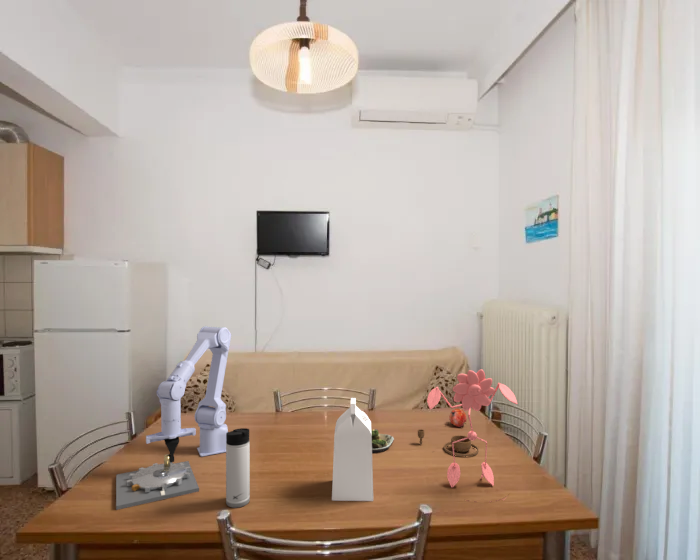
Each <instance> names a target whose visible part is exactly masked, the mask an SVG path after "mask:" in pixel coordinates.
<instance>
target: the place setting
mask: <svg viewBox="0 0 700 560" xmlns="http://www.w3.org/2000/svg"><path fill="white" fill-rule="evenodd" d="M417 437H418V438H419V446H423V439H424V438H425V430H424V429H422V428H421V429H417ZM467 437H468V436H465V435H459V434H458V435H453V436H451V438H450V441H448V442H445V444H443V449H444V451H445V452H446V453H447V454H448V455H451V454H452V455H451V456H453V451H451V450H449V449H448V447H447V446H449V445H452V443H453V442H455V441H458V440H461V439H464V438H467ZM471 443H472V440H470V439H469V438H468V439H465V440H462V441H459V442H456V443H453V444H454V451H455V452H454V455H456V456H455V457H458V456H465V457H464V458H467V457H466V456H472V457H474V456H473V455H475V456H476V454H477V455H478V453H479V446H478V445H476V446H475V444H473V443H472V444H471ZM471 446H472V447H474V448H476V449H477V451H475V452H472V453H471V452H470V453H467V452H466V451H469V450H470V449H472V448H471ZM477 446H478V447H477ZM446 447H447V449H446ZM449 447H450V446H449ZM457 451H458V452H457ZM459 452H465V453H459Z"/></svg>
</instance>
